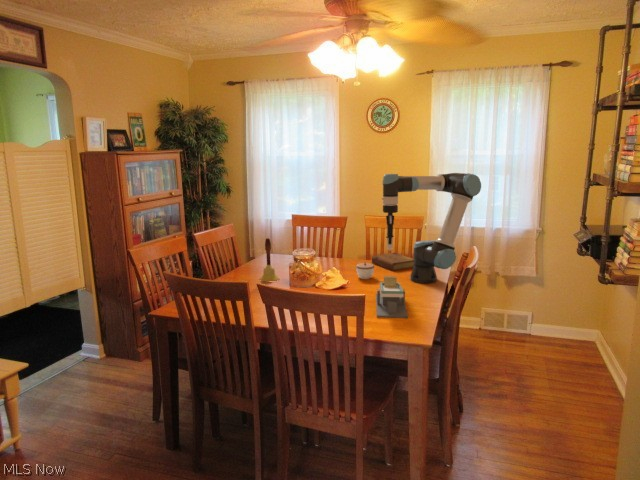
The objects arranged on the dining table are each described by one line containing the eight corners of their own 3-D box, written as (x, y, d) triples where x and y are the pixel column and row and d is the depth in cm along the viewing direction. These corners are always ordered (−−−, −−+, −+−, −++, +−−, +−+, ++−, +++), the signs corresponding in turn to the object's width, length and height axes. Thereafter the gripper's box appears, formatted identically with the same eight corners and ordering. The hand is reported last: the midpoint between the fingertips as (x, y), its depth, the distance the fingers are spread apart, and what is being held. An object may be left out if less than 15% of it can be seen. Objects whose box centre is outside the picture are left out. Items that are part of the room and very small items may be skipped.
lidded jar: (373, 280, 268) (373, 265, 266) (355, 279, 270) (355, 264, 268) (374, 275, 278) (374, 260, 276) (357, 275, 280) (357, 260, 278)
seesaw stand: (402, 295, 239) (403, 281, 238) (407, 318, 208) (408, 301, 207) (375, 295, 241) (376, 280, 239) (376, 317, 210) (377, 300, 208)
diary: (371, 264, 307) (371, 256, 306) (394, 260, 315) (394, 252, 314) (392, 272, 287) (392, 263, 286) (416, 268, 295) (416, 259, 294)
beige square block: (395, 285, 235) (395, 276, 234) (396, 287, 229) (396, 277, 228) (384, 285, 235) (384, 275, 235) (384, 287, 229) (384, 277, 229)
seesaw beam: (399, 289, 237) (399, 282, 236) (403, 298, 209) (403, 291, 209) (379, 288, 238) (379, 282, 238) (381, 298, 210) (381, 291, 210)
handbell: (255, 281, 271) (252, 239, 266) (266, 275, 282) (264, 235, 277) (272, 283, 266) (270, 241, 261) (283, 277, 277) (282, 237, 272)
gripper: (382, 203, 239) (382, 247, 244) (383, 206, 226) (382, 252, 231) (397, 203, 238) (396, 247, 243) (398, 206, 225) (397, 252, 230)
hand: (389, 249), depth 237 cm, fingers closed
